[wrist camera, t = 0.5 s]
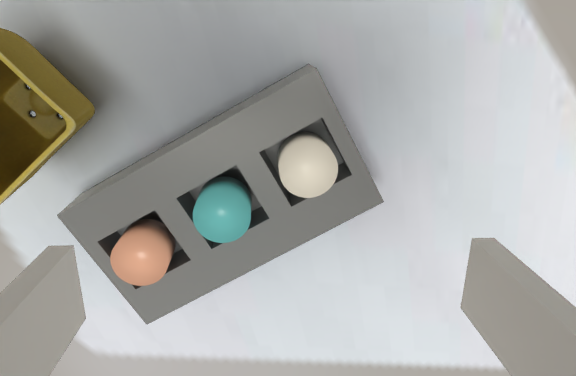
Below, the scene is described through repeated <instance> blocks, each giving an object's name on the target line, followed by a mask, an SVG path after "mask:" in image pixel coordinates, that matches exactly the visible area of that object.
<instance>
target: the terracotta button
mask: <svg viewBox="0 0 576 376" xmlns="http://www.w3.org/2000/svg"><path fill="white" fill-rule="evenodd" d="M175 246H176V242H175V238H174V236H173V235H172V233H171V232H170V231H169V229H168V228H167V226H166V225H165V224H163V223H161V222H159V221H156V220H152V219H142V220H138V221H136V222H134V223H132V224H131V225H130V226H128V228H127V229H126V230H125V232H124V233H123V235H122V236H121V238H120V239H119V240H118V242H117V243H116V245H115V246H114V248H113V250H112V252H111V256H110V262H111V266H112V269H113V271H114V272H115V274H116V275H117V276H118V277H119V278H120V279H122V280H123V281H125V282H127V283H129V284H132V285H137V286H146V285H151V284H153V283H156V282H157V281H159V280H160V279H161V278H162V277H163V276H164V275H165V273H166V271H167V268H168V266H169V263H170V261H171V258H172V256H173V253H174V250H175Z"/></svg>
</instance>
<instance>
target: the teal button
mask: <svg viewBox="0 0 576 376" xmlns="http://www.w3.org/2000/svg"><path fill="white" fill-rule="evenodd" d="M251 204H252V200H251V195H250V192H249V190H248V189H247V187H246V186H245V185H244V184H243V183H242V182H240V181H239V180H237V179H235V178H232V177H225V176H224V177H217V178H214V179H212V180H210V181H208V182H207V183H206V184H205V185H204V186H203V187H202V189H201V191H200V193H199V196H198V198H197V201H196V204H195V206H194V209H193V222H194V225H195V227H196V229H197V231H198V232H199V233H200V234H201V235H202V236H203V237H205V238H206V239H208V240H210V241H213V242H217V243H228V242H232V241H235V240H237V239H238V238H240V237H241V236H243V235H244V233H245V232H246V231H247V229H248V227H249V225H250V221H251Z"/></svg>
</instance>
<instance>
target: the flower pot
mask: <svg viewBox="0 0 576 376" xmlns="http://www.w3.org/2000/svg"><path fill="white" fill-rule="evenodd" d="M26 84H27V85H28V86H29V87H30V88H31V89H28V88H27V87H26ZM30 111H34V112H35V113H36V116H35V117H31V116H30V115H29V112H30ZM58 113H59V114H60V115H61V116H62V117H63V119H60V118H59V117H58V116H57V114H58ZM94 113H95V109H94V106H93V104H92V103H91V102H90V101H89V100H88V99H87V98H86V97H85V96H84V95H83V94H82V93H81V92H80V91H79V90H78V89H77V88H76V87H74V86H73V85H72V84H71V83H70V82H69V81H68V80H67V79H66V78H65V77H64V76H63V75H62V74H61V73H60V72H59V71H58V70H57V69H56V68H55V67H54V66H53V65H52V64H51V63H50V62H49V61H47V60H46V59H45V58H44V57H43V56H42V55H41V54H40V53H39V52H38V51H37V50H36V49H35V48H34V47H33V46H32V45H31V44H30V43H29V42H27V41H26V40H25V39H23V38H22V37H20V36H19V35H17V34H15V33H13V32H11V31H8V30H5V29H2V28H0V204H1V203H3V202H4V201H5V200H6V199H7V198H8V197H9V196H10V195H12V194H13V193H14V192H15V191H16V190H17V189H18V188H19V187H21V186H22V185H23V184H24V183H25V182H27V181H28V180H29V179H30V178H31V177H32V176H33V175H34V174H35V173H36V172H37V171H38V170H39V169H40V168H41V167H42V166H43V165H44V164H45V163H46V162H47V161H48V160H49V159H50V158H51V157H52V156H53V155H54V154H55V153H56V152H57V151H58V150H59V149H60V148H61V147H62V146H63V145H64V144H65V143H66V142H67V141H68V140H69V139H70V138H71V137H72V136H73V135H74V134H75V133H76V132H77V131H78V130H79V129H80V128H82V127H83V126H84V125H85V124H86V123H87V122H88V121H89V120H90V119H91V118H92V117H93V115H94Z"/></svg>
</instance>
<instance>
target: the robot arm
mask: <svg viewBox="0 0 576 376" xmlns="http://www.w3.org/2000/svg"><path fill="white" fill-rule="evenodd" d="M461 309H462V310H463V312H464V313H465V314H466V316H467V317H468V319H469V320H470V321H471V323H472V324H473V325H474V327H475V328H476V329H477V331H478V332H479V333H480V335H481V336H482V337H483V339H484V340H485V341H486V343H487V344H488V345H489V347H490V348H491V349H492V351H493V352H494V353H495V355H496V356H497V357H498V359H499V360H500V362H501V363H502V364H503V366H504V367H505V368H506V370H507V371H508V372H509V374H510V375H511V376H576V307H575V306H574V305H572V304H571V303H570V302H569V301H568V300H566V299H565V298H564V297H563V296H562V295H561V294H559V293H558V292H557V291H556V290H555V289H554V288H552V287H551V286H550V285H549V284H548V283H546V282H545V281H544V280H543V279H542V278H541V277H539V276H538V275H537V274H536V273H535V272H534V271H532V270H531V269H530V268H529V267H528V266H526V265H525V264H524V263H523V262H522V261H521V260H519V259H518V258H517V257H516V256H515V255H514V254H512V253H511V252H510V251H509V250H508V249H506V248H505V247H504V246H503V245H502V244H501V243H499V242H498V241H497V240H496V239H495V238H472V242H471V248H470V254H469V260H468V266H467V272H466V278H465V284H464V290H463V296H462V302H461ZM85 319H86V315H85V310H84V304H83V298H82V292H81V286H80V281H79V275H78V269H77V263H76V257H75V252H74V246H73V245H71V246H48V247H47V248H46V249H45V250H44V251H43V252H42V253H41V254H40V255H39V256H38V257H37V258H36V259H35V260H34V261H33V262H32V263H31V264H30V265H29V266H28V267H26V268H25V269H24V270H23V271H22V272H21V273H20V274H19V275H18V276H17V277H16V278H15V279H14V280H13V281H12V282H11V283H10V284H9V285H8V286H7V287H6V288H5V289H4V290H3V291H2V292H1V293H0V376H50V374H51V373H52V371H53V370H54V368H55V366H56V365H57V363H58V362H59V360H60V359H61V357H62V355H63V354H64V352H65V351H66V349H67V347H68V346H69V344H70V343H71V341H72V340H73V338H74V336H75V335H76V333H77V332H78V330H79V328H80V327H81V325H82V324H83V322H84V321H85Z"/></svg>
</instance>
